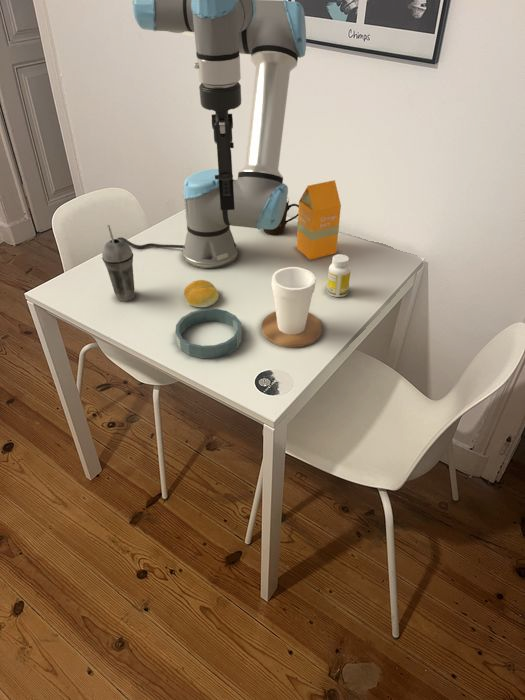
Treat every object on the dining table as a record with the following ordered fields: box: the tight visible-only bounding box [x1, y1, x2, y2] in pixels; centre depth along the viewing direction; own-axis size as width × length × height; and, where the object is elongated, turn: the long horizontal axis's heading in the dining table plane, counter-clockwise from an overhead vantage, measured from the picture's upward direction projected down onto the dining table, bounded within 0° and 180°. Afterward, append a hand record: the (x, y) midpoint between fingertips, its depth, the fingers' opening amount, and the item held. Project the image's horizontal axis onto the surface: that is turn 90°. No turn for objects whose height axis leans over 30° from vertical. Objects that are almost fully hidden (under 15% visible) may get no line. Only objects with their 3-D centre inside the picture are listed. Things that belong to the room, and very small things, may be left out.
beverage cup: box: [101, 224, 135, 303], centre depth 127 cm, size 7×7×20 cm
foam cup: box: [271, 266, 316, 335], centre depth 118 cm, size 10×9×13 cm
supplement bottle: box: [326, 253, 352, 298], centre depth 132 cm, size 5×5×10 cm
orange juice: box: [296, 179, 342, 261], centre depth 146 cm, size 8×9×20 cm
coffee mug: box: [262, 196, 299, 236], centre depth 158 cm, size 12×9×10 cm
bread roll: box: [183, 279, 219, 308], centre depth 131 cm, size 8×9×4 cm
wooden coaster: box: [261, 311, 323, 349], centre depth 123 cm, size 14×14×1 cm
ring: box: [175, 308, 243, 360], centre depth 119 cm, size 15×15×3 cm
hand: (227, 194), depth 109 cm, fingers open, 13 cm apart
